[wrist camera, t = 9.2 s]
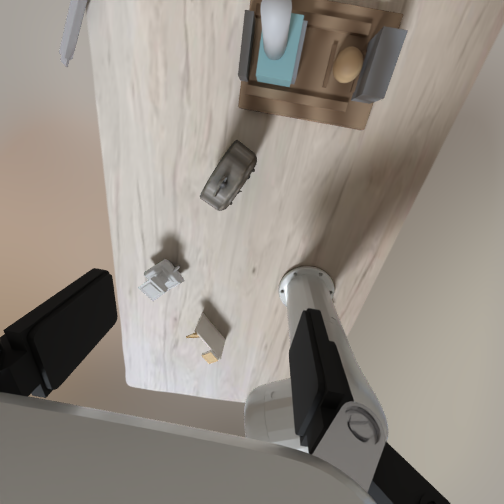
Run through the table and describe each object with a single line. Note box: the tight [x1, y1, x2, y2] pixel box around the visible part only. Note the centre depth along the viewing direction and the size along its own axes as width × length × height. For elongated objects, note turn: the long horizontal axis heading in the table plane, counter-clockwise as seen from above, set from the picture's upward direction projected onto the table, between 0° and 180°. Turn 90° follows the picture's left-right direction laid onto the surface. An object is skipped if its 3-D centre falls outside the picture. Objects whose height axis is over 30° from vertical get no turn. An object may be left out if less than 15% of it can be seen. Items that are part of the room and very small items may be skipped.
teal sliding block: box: [256, 0, 308, 87], centre depth 27 cm, size 6×7×13 cm
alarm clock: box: [200, 140, 257, 211], centre depth 36 cm, size 11×5×16 cm, turn 144°
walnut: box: [333, 47, 363, 83], centre depth 32 cm, size 4×4×4 cm
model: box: [186, 313, 225, 364], centre depth 58 cm, size 3×11×8 cm, turn 31°
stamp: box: [138, 259, 184, 301], centre depth 50 cm, size 9×7×8 cm
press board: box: [238, 0, 408, 130], centre depth 32 cm, size 21×14×6 cm, turn 81°
